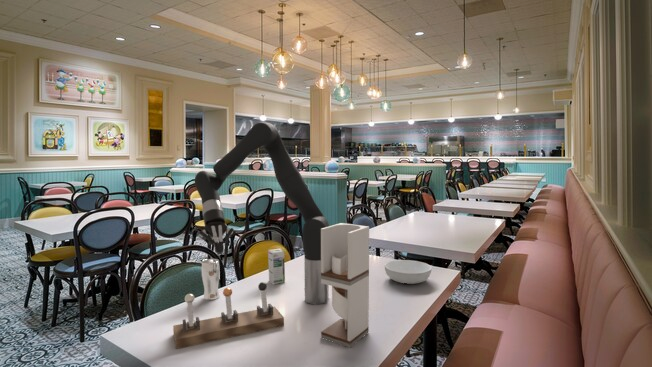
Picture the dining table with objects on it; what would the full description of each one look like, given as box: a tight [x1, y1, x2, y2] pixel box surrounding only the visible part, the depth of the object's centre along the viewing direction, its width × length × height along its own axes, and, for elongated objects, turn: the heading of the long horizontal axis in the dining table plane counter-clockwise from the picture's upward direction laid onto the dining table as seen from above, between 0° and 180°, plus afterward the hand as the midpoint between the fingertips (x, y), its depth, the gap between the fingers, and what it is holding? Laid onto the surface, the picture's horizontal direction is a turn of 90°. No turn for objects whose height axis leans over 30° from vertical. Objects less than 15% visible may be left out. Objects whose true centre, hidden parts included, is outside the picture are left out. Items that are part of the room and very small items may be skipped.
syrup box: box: [267, 248, 286, 285], centre depth 171 cm, size 6×6×14 cm
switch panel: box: [172, 303, 285, 350], centre depth 125 cm, size 34×10×6 cm, turn 116°
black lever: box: [257, 281, 269, 314], centre depth 131 cm, size 3×3×11 cm
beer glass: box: [201, 258, 221, 301], centre depth 153 cm, size 7×7×15 cm
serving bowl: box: [384, 259, 433, 285], centre depth 172 cm, size 21×21×7 cm
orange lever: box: [222, 287, 234, 321], centre depth 126 cm, size 3×3×11 cm
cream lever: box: [184, 293, 196, 329], centre depth 121 cm, size 3×3×11 cm
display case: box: [320, 222, 370, 349], centre depth 120 cm, size 11×11×35 cm
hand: (220, 252), depth 137 cm, fingers closed
